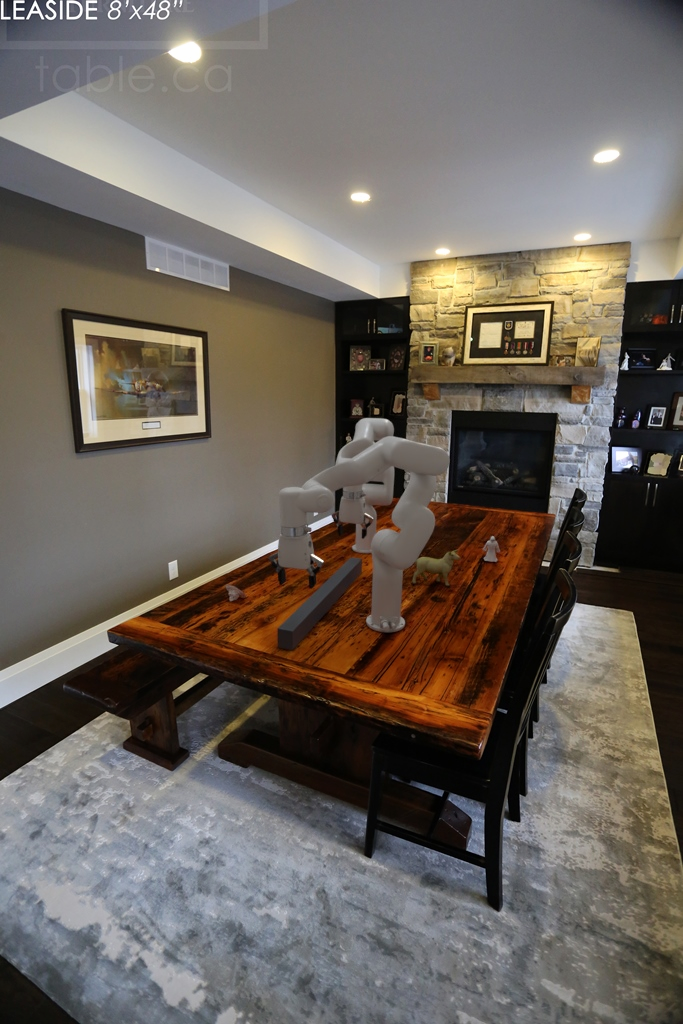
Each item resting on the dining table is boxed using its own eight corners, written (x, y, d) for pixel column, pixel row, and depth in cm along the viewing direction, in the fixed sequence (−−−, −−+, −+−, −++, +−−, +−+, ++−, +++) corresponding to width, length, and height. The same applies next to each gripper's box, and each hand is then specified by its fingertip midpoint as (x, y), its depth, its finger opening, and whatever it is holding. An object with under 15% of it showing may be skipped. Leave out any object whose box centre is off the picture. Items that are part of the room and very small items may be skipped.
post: (292, 650, 145) (292, 631, 144) (277, 647, 147) (277, 628, 145) (361, 572, 207) (362, 558, 206) (350, 571, 209) (350, 557, 207)
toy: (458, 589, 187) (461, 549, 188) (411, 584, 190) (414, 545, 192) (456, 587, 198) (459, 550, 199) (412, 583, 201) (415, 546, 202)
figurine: (481, 562, 222) (483, 536, 219) (482, 556, 230) (484, 531, 227) (499, 564, 220) (501, 538, 217) (499, 558, 228) (501, 533, 225)
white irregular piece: (231, 609, 179) (216, 592, 179) (241, 599, 183) (227, 583, 182) (239, 604, 173) (224, 587, 172) (250, 595, 177) (235, 577, 176)
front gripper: (326, 528, 144) (329, 583, 149) (273, 524, 150) (276, 577, 155) (316, 536, 138) (319, 593, 142) (261, 531, 143) (265, 587, 148)
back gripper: (376, 494, 194) (375, 535, 199) (335, 490, 199) (334, 530, 204) (371, 499, 187) (370, 542, 192) (328, 494, 193) (328, 536, 198)
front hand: (297, 585), depth 148 cm, fingers open, 9 cm apart
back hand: (352, 536), depth 198 cm, fingers open, 9 cm apart
